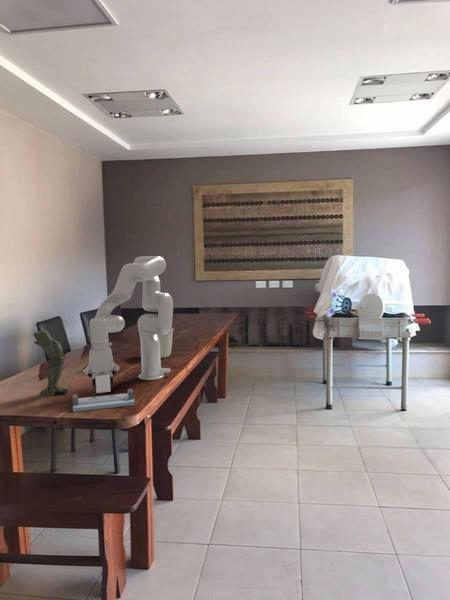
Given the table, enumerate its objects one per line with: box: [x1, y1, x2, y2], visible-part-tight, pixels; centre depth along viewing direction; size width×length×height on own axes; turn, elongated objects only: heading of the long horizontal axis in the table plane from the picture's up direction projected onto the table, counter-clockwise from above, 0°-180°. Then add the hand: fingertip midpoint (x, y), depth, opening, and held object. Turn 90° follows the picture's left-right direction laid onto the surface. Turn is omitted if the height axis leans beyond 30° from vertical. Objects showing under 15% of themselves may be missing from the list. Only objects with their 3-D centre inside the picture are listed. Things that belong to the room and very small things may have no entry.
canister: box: [157, 327, 174, 359], centre depth 284 cm, size 18×18×21 cm
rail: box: [72, 388, 135, 407], centre depth 196 cm, size 24×5×3 cm, turn 107°
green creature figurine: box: [32, 329, 69, 396], centre depth 212 cm, size 14×7×30 cm, turn 92°
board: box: [72, 398, 136, 413], centre depth 196 cm, size 24×12×2 cm, turn 107°
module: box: [95, 371, 112, 394], centre depth 210 cm, size 6×8×8 cm
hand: (102, 385), depth 210 cm, fingers closed on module, 6 cm apart
